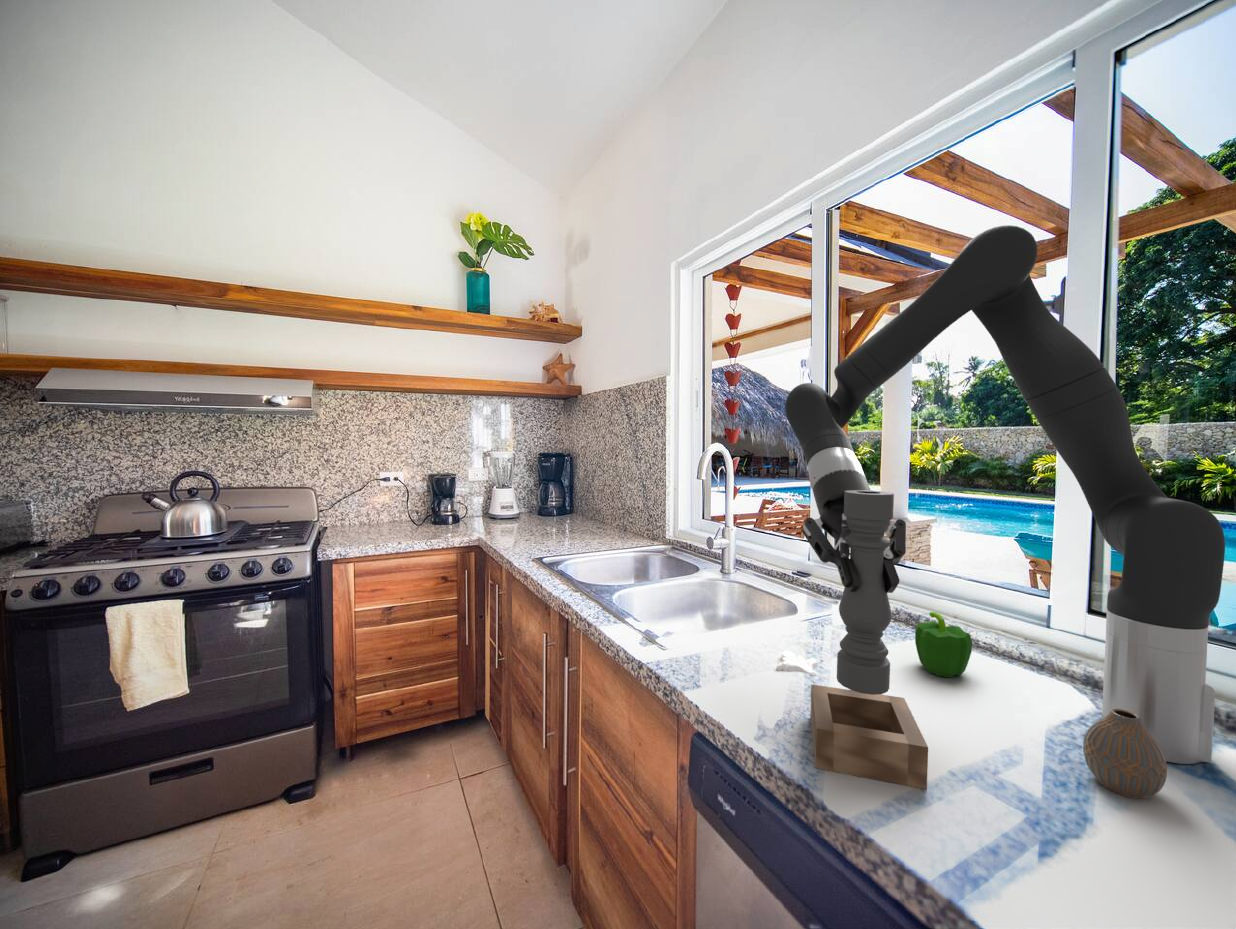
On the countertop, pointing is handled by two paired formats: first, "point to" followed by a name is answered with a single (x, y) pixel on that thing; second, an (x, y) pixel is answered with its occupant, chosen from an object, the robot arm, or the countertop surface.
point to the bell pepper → (942, 647)
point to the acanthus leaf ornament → (797, 663)
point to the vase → (1125, 755)
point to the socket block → (867, 736)
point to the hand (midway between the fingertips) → (873, 588)
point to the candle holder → (866, 594)
